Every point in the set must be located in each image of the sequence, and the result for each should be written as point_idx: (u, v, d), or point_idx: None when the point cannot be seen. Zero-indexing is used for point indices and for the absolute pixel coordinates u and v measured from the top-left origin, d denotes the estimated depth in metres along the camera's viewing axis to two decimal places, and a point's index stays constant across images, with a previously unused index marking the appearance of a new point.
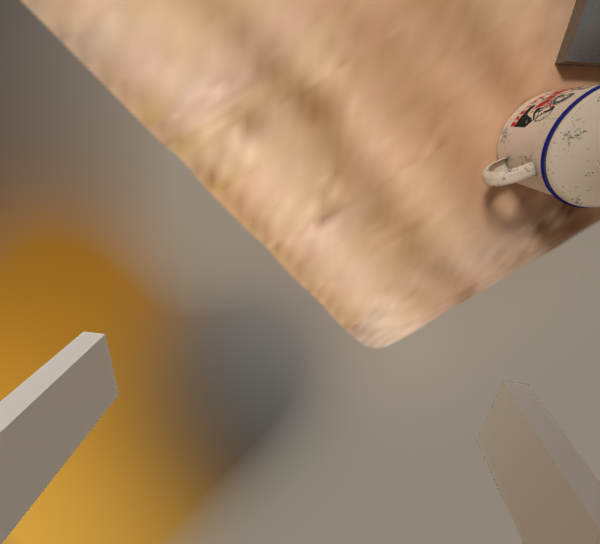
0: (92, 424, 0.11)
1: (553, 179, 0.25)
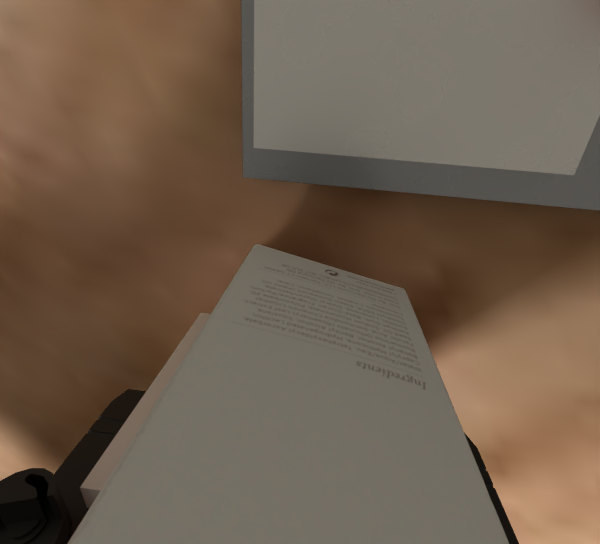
0: None
1: None
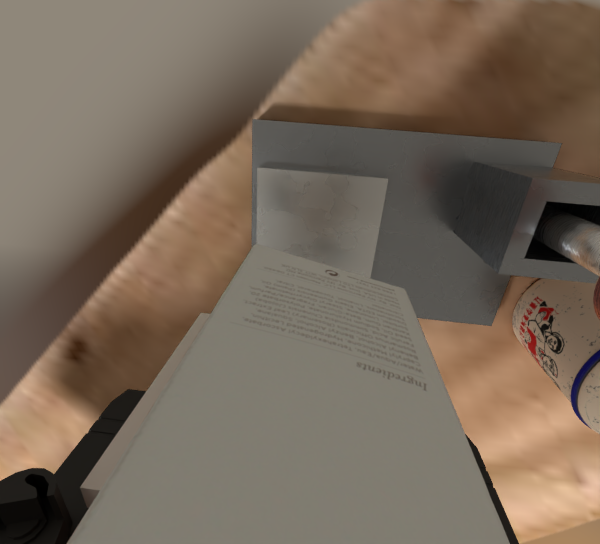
0: None
1: None
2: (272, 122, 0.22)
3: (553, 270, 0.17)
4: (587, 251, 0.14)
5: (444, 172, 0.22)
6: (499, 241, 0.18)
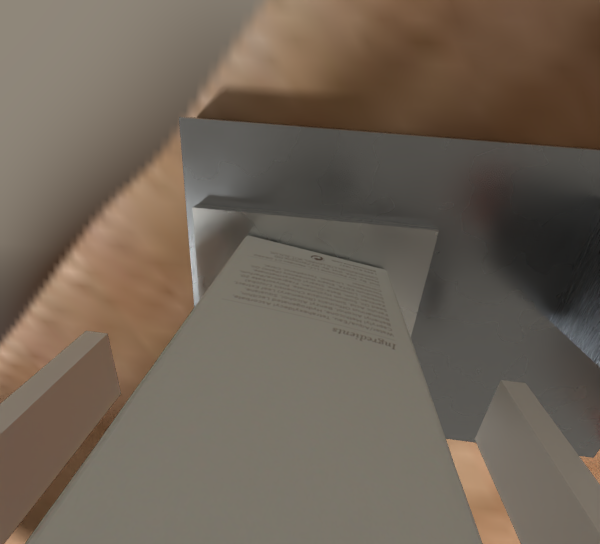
0: (94, 423, 0.11)
1: None
2: (217, 123, 0.11)
3: None
4: None
5: (545, 217, 0.12)
6: None
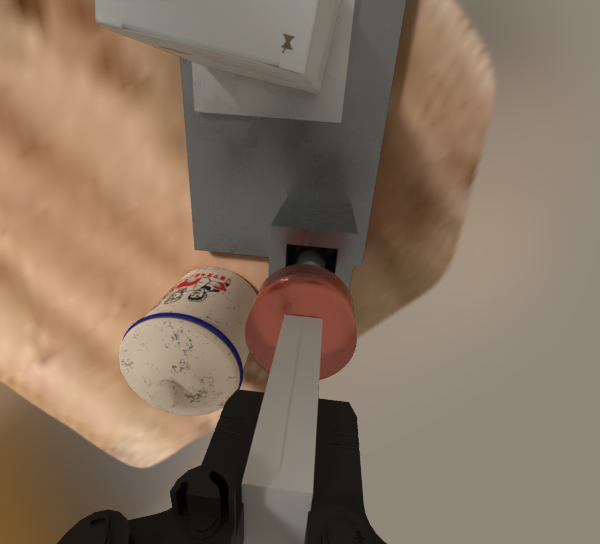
0: None
1: None
2: None
3: (276, 269, 0.20)
4: None
5: (343, 180, 0.24)
6: (298, 223, 0.19)
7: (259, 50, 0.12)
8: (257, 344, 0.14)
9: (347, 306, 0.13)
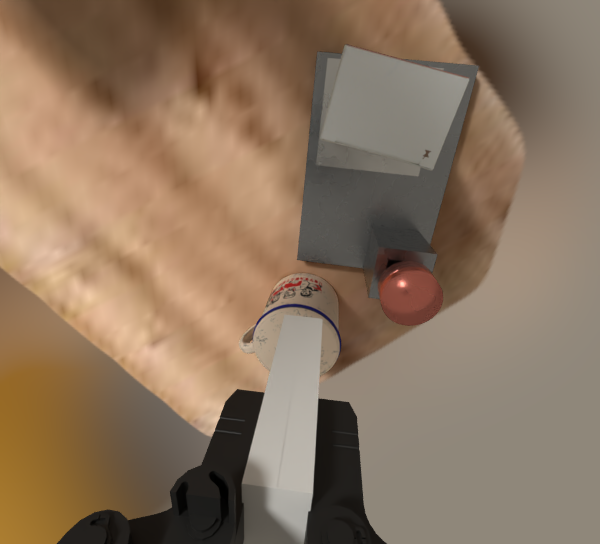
0: None
1: None
2: (472, 83, 0.28)
3: (378, 275, 0.29)
4: None
5: (414, 213, 0.34)
6: (394, 245, 0.29)
7: (410, 156, 0.21)
8: (387, 303, 0.25)
9: None
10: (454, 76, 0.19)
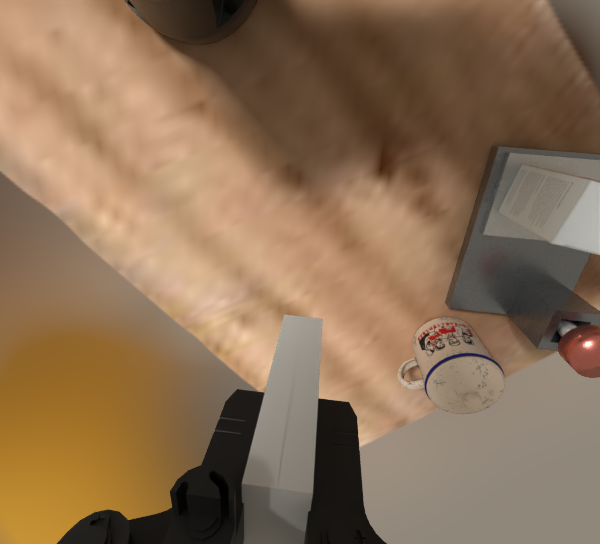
0: None
1: (431, 399, 0.40)
2: None
3: (550, 331, 0.35)
4: (569, 321, 0.35)
5: (561, 271, 0.39)
6: (565, 307, 0.35)
7: None
8: (578, 361, 0.31)
9: None
10: None
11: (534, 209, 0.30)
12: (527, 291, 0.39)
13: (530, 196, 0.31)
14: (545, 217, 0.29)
